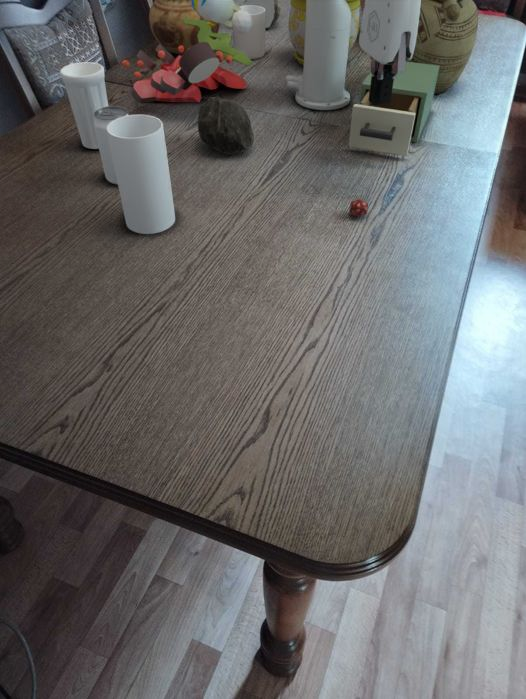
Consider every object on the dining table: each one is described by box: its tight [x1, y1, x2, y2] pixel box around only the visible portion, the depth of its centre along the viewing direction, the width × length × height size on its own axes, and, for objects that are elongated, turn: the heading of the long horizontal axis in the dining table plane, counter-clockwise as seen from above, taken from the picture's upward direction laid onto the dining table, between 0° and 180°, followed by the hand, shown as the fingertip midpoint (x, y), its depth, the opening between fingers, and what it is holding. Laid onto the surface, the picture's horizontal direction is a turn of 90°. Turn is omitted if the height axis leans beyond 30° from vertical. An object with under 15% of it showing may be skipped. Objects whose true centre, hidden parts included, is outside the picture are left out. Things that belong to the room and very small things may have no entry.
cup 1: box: [59, 61, 109, 150], centre depth 107 cm, size 8×8×14 cm
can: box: [94, 105, 129, 186], centre depth 98 cm, size 6×6×12 cm
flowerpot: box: [288, 0, 361, 66], centre depth 140 cm, size 18×18×16 cm
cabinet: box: [359, 62, 440, 143], centre depth 115 cm, size 16×13×10 cm
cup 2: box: [107, 114, 176, 235], centre depth 86 cm, size 8×8×16 cm
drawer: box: [348, 90, 421, 157], centre depth 108 cm, size 19×12×8 cm, turn 159°
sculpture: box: [241, 0, 281, 30], centre depth 168 cm, size 11×18×12 cm
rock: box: [197, 96, 255, 155], centre depth 108 cm, size 10×11×10 cm
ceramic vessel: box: [408, 0, 479, 95], centre depth 123 cm, size 19×21×30 cm
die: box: [348, 198, 369, 218], centre depth 92 cm, size 3×3×3 cm
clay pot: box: [148, 0, 221, 56], centre depth 146 cm, size 19×19×20 cm
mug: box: [232, 5, 266, 60], centre depth 146 cm, size 9×12×11 cm
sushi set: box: [121, 0, 254, 104], centre depth 124 cm, size 29×30×24 cm
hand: (379, 102), depth 90 cm, fingers closed
